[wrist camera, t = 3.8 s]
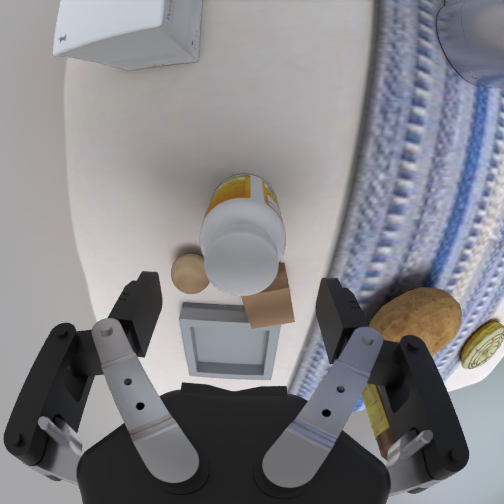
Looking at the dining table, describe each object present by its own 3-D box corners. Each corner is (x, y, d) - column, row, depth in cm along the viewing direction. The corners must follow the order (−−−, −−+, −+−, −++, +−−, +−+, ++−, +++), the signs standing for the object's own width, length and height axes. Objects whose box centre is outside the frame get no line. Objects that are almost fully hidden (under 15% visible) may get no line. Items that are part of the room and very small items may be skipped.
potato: (324, 327, 30) (339, 384, 23) (422, 250, 25) (462, 296, 18) (364, 358, 33) (380, 405, 26) (446, 296, 28) (476, 338, 21)
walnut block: (242, 269, 26) (241, 296, 23) (284, 262, 26) (289, 287, 22) (251, 301, 28) (251, 329, 25) (289, 294, 28) (294, 321, 24)
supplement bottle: (204, 221, 24) (179, 290, 15) (224, 163, 21) (206, 204, 13) (262, 241, 25) (267, 316, 16) (287, 186, 22) (309, 241, 14)
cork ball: (174, 245, 25) (164, 266, 22) (212, 247, 25) (207, 268, 22) (177, 277, 27) (169, 300, 23) (213, 279, 27) (209, 303, 23)
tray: (183, 302, 28) (179, 318, 26) (279, 307, 28) (280, 323, 26) (192, 360, 33) (189, 375, 31) (270, 364, 33) (270, 379, 31)
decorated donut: (453, 366, 38) (460, 381, 35) (461, 335, 33) (471, 351, 30) (491, 343, 36) (499, 356, 33) (503, 308, 31) (513, 322, 28)
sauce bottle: (364, 389, 38) (391, 496, 21) (351, 375, 35) (380, 497, 18) (399, 371, 36) (436, 477, 19) (390, 355, 34) (433, 476, 16)
